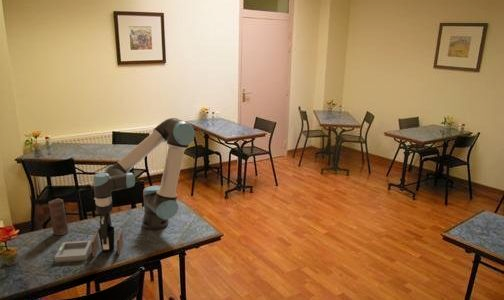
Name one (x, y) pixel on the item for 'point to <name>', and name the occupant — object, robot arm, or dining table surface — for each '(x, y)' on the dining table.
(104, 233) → the robot arm
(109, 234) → the cup
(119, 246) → the beige holder
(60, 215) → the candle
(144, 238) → the dining table surface
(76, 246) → the dock
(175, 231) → the dining table surface
